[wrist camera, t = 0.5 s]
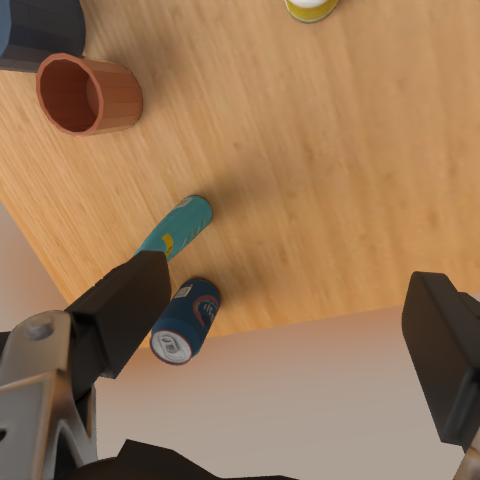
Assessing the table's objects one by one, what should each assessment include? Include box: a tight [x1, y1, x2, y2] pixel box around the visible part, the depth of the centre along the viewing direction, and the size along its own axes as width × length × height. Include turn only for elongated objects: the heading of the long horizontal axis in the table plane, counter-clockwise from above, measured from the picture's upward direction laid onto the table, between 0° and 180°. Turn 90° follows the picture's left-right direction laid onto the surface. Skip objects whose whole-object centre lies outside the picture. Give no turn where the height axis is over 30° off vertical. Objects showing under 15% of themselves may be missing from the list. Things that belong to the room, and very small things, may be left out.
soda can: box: [149, 279, 220, 365], centre depth 43 cm, size 7×7×12 cm
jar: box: [0, 0, 85, 73], centre depth 32 cm, size 11×11×10 cm
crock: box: [36, 53, 143, 137], centre depth 35 cm, size 8×8×8 cm
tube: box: [133, 196, 212, 262], centre depth 34 cm, size 7×5×19 cm, turn 147°
